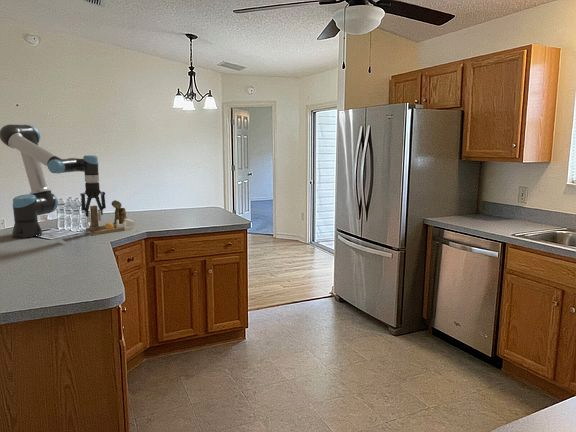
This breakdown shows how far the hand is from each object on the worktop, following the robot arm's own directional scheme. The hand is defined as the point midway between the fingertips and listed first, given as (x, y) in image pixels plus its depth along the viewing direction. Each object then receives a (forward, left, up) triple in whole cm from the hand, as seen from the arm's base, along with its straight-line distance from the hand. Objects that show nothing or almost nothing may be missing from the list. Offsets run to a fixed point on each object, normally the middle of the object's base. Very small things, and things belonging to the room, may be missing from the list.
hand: (94, 221), depth 260 cm
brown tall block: (0, 0, -7) cm, 7 cm away
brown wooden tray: (+9, 0, -8) cm, 13 cm away
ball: (+8, 0, -4) cm, 10 cm away
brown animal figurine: (+22, +17, -9) cm, 29 cm away
